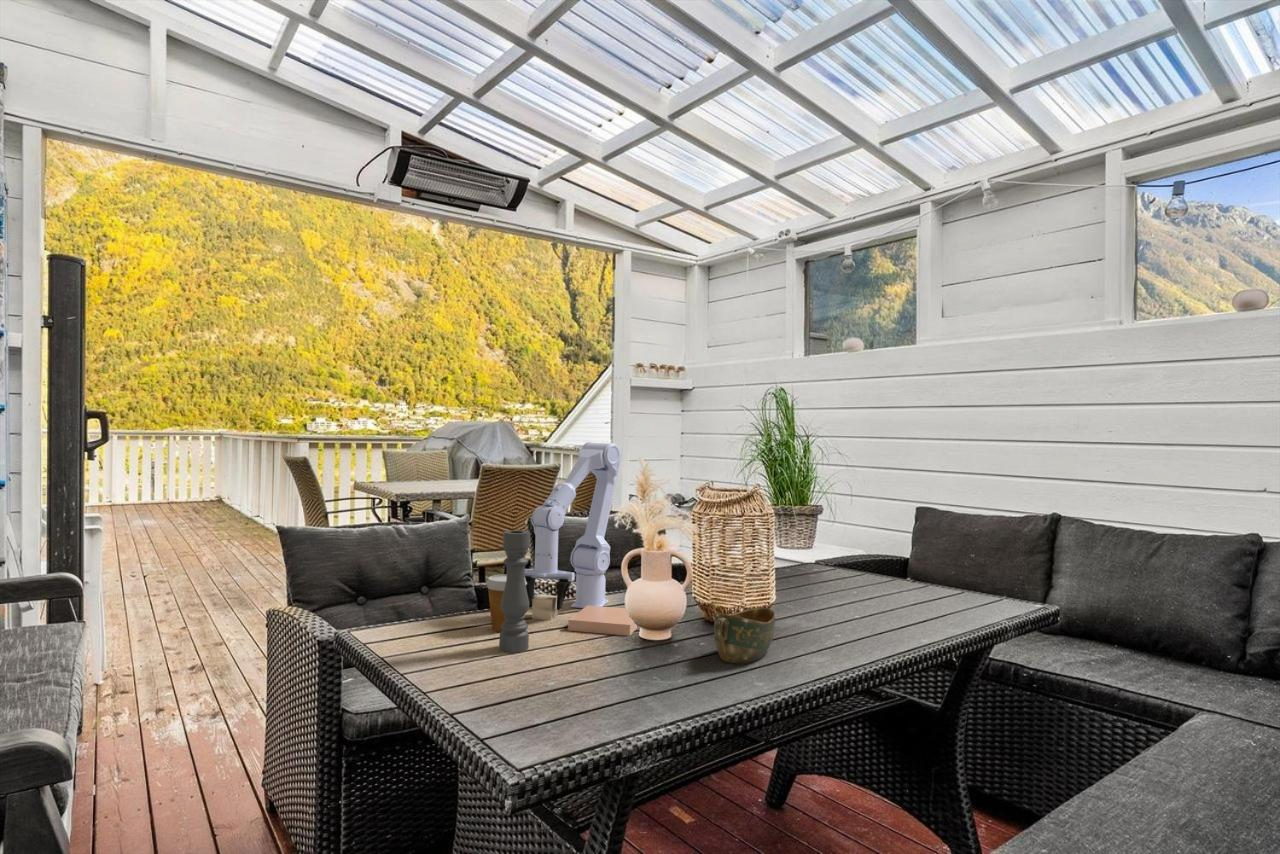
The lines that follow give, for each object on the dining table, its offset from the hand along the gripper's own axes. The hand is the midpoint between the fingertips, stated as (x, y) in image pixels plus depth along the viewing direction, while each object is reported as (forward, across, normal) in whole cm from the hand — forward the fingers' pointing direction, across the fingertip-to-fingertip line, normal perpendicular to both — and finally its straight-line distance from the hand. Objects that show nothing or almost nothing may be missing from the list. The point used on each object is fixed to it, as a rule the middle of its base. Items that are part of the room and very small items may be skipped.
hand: (545, 607), depth 184 cm
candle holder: (+3, +3, -27) cm, 27 cm away
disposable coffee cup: (+3, -5, -13) cm, 14 cm away
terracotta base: (+2, +17, -2) cm, 17 cm away
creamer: (+3, +51, -17) cm, 54 cm away
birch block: (+2, 0, 0) cm, 2 cm away
